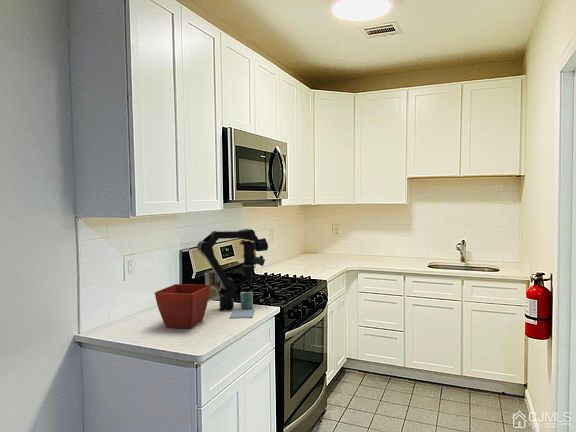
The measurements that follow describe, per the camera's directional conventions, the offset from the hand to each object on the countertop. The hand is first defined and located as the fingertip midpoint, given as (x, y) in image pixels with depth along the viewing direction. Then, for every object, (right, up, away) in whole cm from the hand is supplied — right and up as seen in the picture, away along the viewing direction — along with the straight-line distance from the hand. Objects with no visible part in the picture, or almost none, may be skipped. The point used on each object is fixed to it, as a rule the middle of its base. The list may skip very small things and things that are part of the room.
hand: (249, 281), depth 227 cm
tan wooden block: (-1, -14, -8) cm, 16 cm away
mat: (-2, -14, -17) cm, 22 cm away
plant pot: (-28, -16, -30) cm, 44 cm away
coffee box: (-22, -13, +16) cm, 30 cm away
